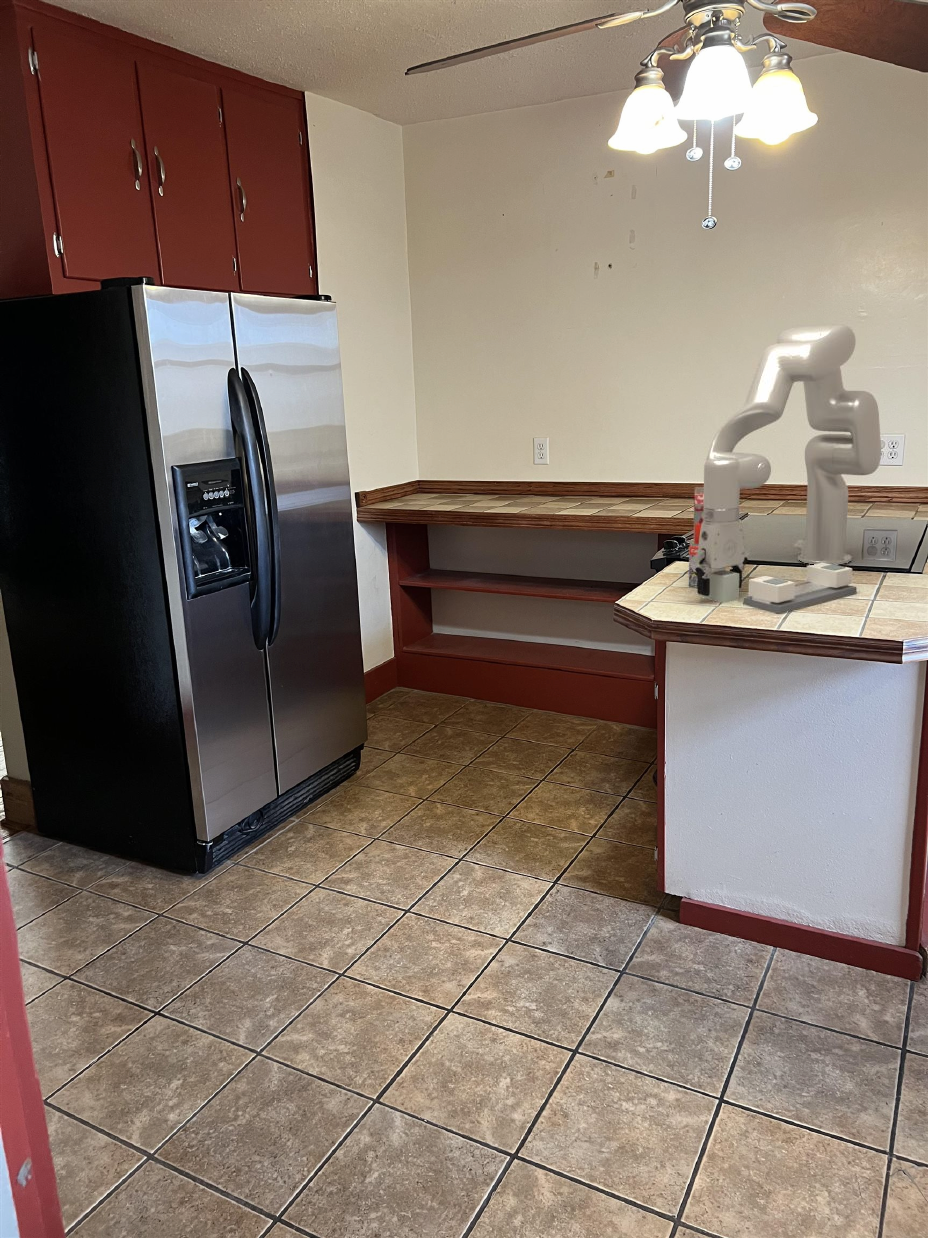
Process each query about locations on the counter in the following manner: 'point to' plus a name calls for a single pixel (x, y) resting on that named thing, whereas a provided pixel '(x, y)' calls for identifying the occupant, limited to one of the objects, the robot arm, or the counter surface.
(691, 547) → the ink box
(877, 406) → the robot arm
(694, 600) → the counter surface
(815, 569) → the mounted modules
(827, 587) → the rail panel
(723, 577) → the block
